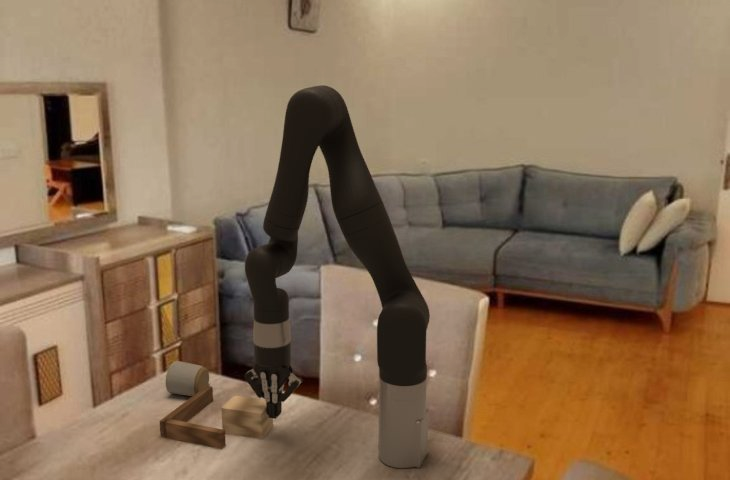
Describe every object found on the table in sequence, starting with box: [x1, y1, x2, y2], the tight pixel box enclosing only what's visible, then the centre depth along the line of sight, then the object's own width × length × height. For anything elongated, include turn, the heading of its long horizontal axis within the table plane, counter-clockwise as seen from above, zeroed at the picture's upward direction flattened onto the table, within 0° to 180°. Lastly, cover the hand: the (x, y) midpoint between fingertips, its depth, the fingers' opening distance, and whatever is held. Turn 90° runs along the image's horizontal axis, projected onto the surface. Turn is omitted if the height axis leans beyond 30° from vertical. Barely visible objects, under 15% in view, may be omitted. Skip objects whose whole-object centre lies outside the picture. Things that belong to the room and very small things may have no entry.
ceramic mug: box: [165, 360, 210, 397], centre depth 166 cm, size 11×8×8 cm
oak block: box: [221, 395, 274, 440], centre depth 148 cm, size 9×6×6 cm, turn 75°
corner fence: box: [159, 385, 227, 450], centre depth 151 cm, size 15×18×4 cm
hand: (274, 416), depth 146 cm, fingers closed
